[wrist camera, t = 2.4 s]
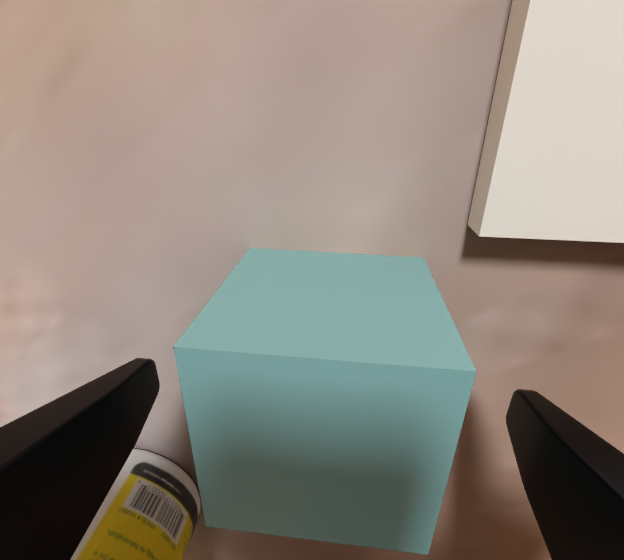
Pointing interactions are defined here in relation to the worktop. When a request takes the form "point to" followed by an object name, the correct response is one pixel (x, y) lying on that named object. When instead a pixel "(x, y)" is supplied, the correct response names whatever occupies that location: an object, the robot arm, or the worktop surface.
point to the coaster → (556, 126)
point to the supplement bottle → (143, 513)
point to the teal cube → (325, 398)
